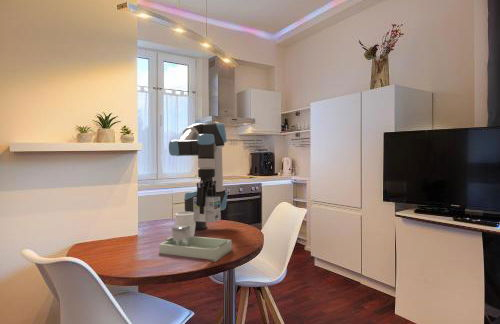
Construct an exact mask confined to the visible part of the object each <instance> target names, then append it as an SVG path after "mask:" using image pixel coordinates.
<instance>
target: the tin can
mask: <svg viewBox="0 0 500 324" xmlns="http://www.w3.org/2000/svg"><path fill="white" fill-rule="evenodd" d="M171 233H172V235H171V237H172V245H178V246H187V247H190V227H189V226H175V225H174V226H172V227H171Z"/></svg>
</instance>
